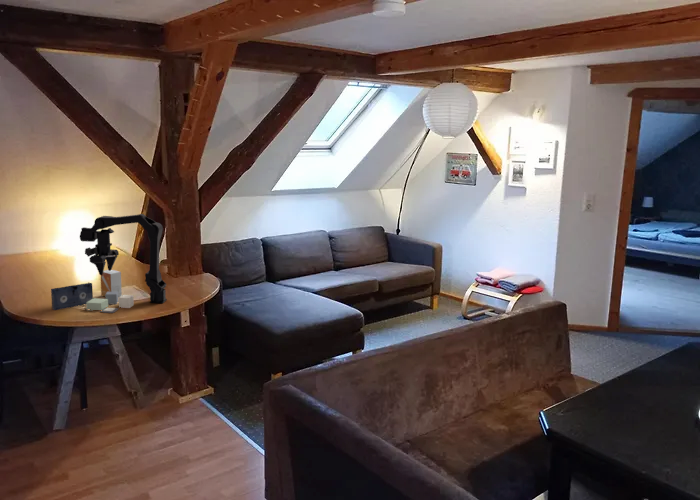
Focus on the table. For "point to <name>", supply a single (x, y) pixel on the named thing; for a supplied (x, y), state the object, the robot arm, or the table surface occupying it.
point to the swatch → (109, 310)
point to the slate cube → (112, 297)
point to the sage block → (97, 304)
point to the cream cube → (126, 301)
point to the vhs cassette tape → (71, 296)
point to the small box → (111, 282)
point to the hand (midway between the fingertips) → (105, 272)
